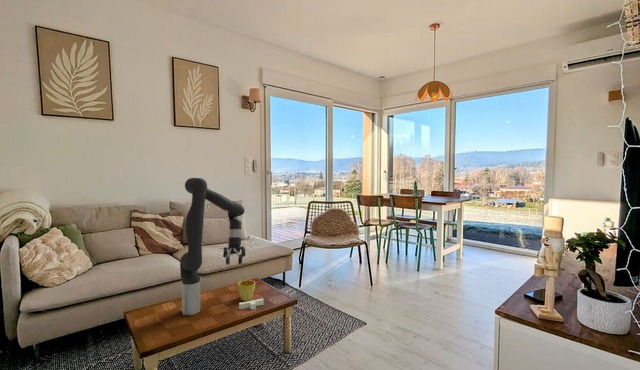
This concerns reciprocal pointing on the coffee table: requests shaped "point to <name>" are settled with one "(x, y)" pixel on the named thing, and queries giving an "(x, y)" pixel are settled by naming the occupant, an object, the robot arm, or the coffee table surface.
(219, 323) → the coffee table surface
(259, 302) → the t stop
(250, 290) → the plant pot
